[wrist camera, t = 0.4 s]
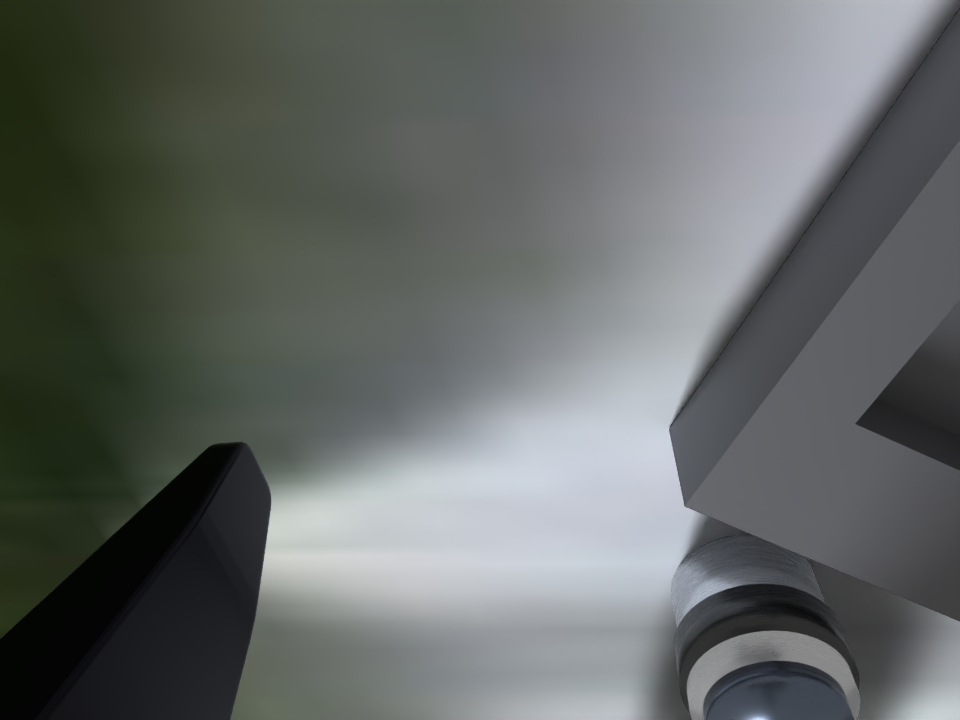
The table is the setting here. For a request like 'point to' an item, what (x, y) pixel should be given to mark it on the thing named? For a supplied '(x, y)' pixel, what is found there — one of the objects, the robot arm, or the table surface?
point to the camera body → (854, 369)
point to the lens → (759, 637)
